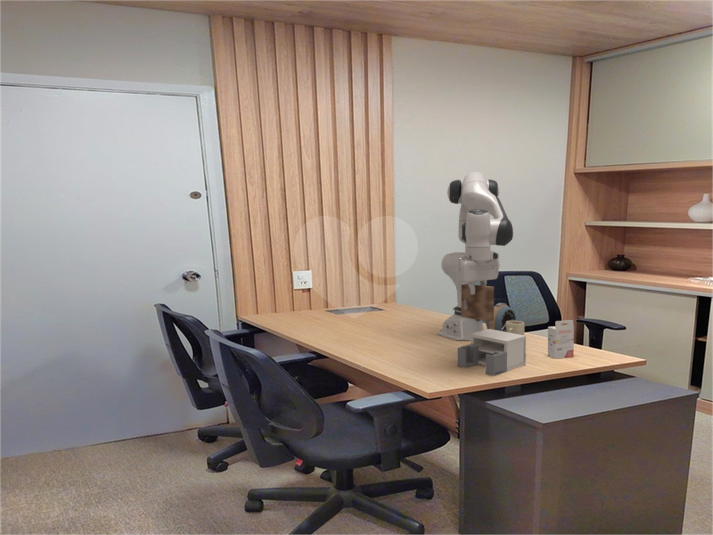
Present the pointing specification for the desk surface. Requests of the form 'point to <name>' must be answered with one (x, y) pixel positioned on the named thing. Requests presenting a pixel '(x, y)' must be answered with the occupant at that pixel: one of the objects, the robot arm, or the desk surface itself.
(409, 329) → the desk surface
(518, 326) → the character mug
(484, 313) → the wooden block
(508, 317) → the alarm clock
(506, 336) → the cabinet
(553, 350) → the ink cartridge box
